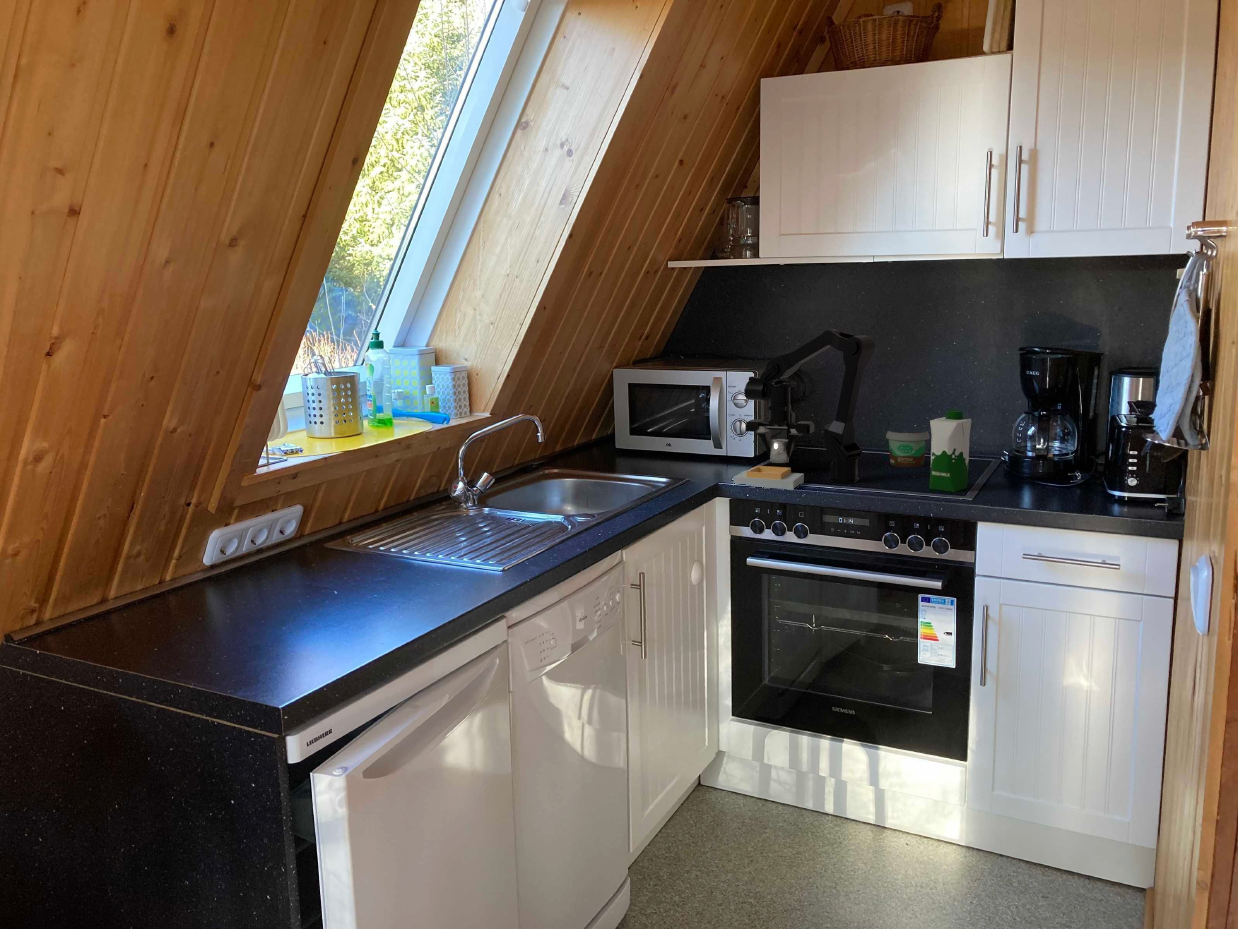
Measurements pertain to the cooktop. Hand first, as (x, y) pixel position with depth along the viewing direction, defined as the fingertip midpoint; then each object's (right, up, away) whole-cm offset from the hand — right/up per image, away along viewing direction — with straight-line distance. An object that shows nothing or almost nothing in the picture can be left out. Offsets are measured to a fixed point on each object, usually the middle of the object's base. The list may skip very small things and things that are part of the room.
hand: (779, 456), depth 285 cm
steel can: (0, -1, 0) cm, 1 cm away
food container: (+38, -3, +7) cm, 39 cm away
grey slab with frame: (-5, -8, -15) cm, 18 cm away
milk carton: (+40, -9, -25) cm, 48 cm away
